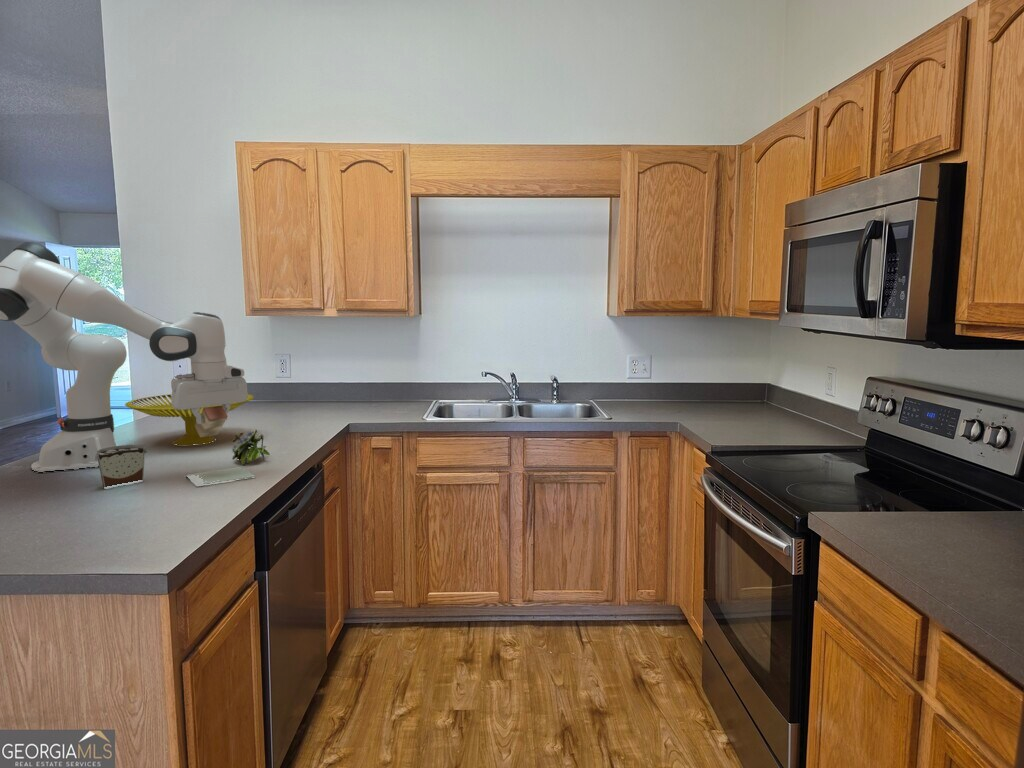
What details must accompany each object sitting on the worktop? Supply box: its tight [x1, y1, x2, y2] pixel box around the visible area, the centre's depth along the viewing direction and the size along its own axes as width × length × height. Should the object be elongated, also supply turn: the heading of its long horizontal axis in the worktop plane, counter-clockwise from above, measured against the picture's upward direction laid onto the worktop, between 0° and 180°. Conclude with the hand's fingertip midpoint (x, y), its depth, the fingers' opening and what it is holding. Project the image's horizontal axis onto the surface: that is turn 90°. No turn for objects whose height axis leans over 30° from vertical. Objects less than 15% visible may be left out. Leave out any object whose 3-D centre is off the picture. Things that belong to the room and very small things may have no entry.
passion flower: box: [231, 429, 271, 466], centre depth 199 cm, size 11×11×12 cm
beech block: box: [195, 406, 228, 437], centre depth 179 cm, size 5×4×8 cm
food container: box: [95, 444, 148, 488], centre depth 173 cm, size 12×6×10 cm, turn 141°
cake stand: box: [124, 393, 255, 445], centre depth 225 cm, size 40×40×15 cm
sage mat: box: [185, 466, 256, 484], centre depth 180 cm, size 15×13×1 cm
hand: (212, 421), depth 178 cm, fingers closed on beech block, 5 cm apart
